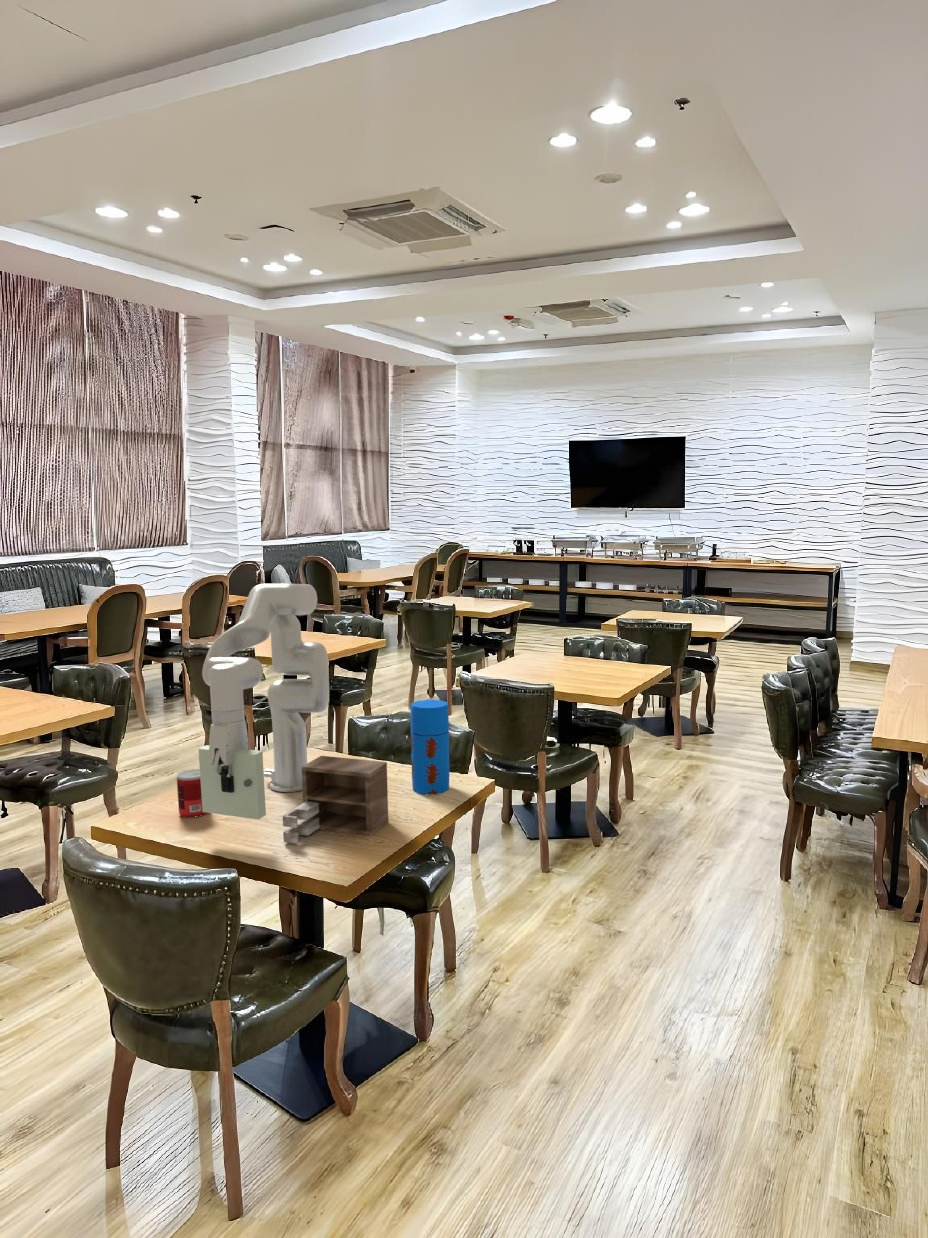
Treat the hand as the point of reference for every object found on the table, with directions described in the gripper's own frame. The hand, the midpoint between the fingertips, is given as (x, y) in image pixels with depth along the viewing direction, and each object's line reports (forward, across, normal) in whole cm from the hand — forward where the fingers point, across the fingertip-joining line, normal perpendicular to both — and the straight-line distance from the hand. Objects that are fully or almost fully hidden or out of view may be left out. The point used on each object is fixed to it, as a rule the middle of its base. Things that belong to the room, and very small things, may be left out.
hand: (232, 788), depth 210 cm
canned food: (+15, -14, -23) cm, 30 cm away
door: (+6, 0, 0) cm, 6 cm away
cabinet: (+14, -14, +20) cm, 28 cm away
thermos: (+15, -52, +30) cm, 62 cm away
